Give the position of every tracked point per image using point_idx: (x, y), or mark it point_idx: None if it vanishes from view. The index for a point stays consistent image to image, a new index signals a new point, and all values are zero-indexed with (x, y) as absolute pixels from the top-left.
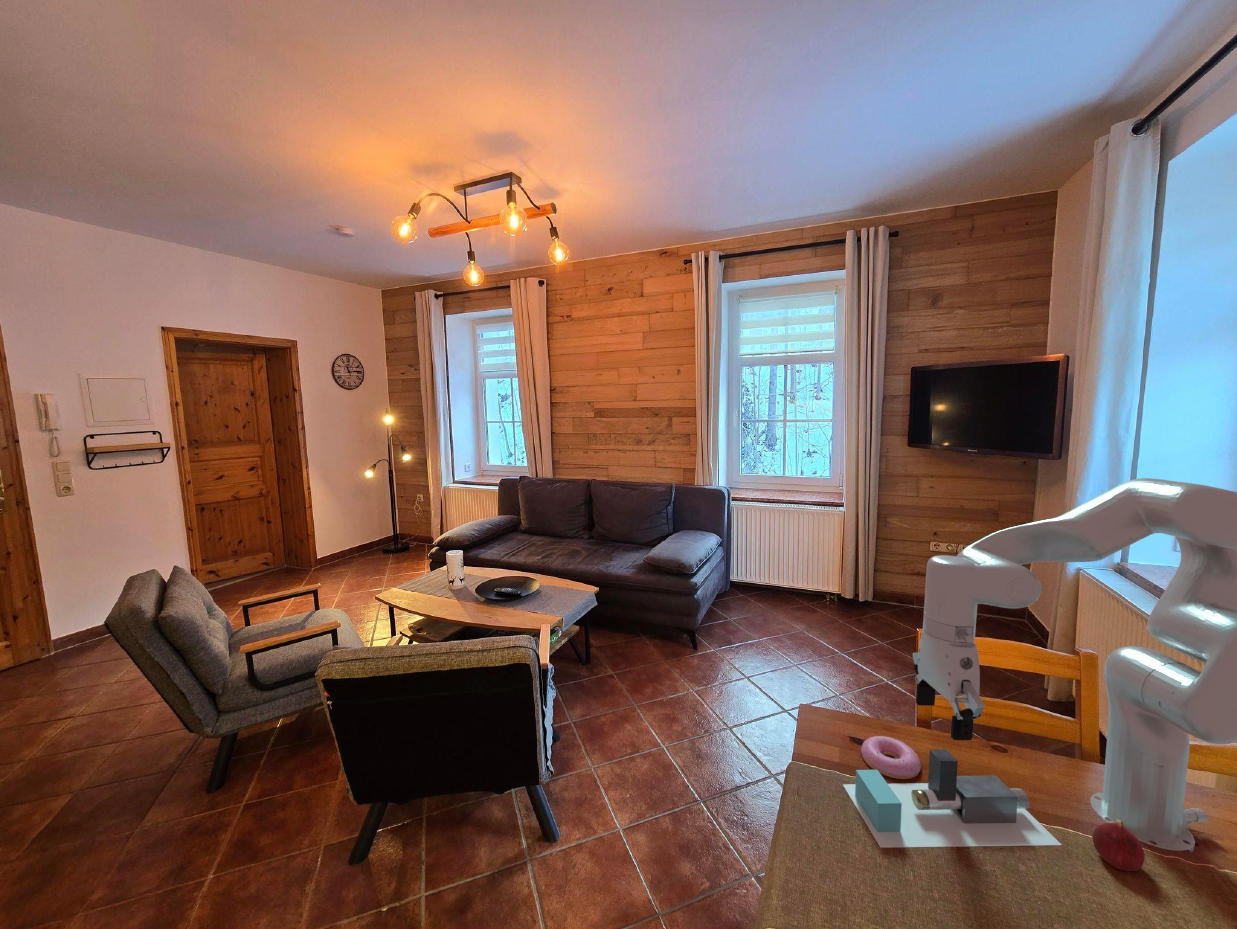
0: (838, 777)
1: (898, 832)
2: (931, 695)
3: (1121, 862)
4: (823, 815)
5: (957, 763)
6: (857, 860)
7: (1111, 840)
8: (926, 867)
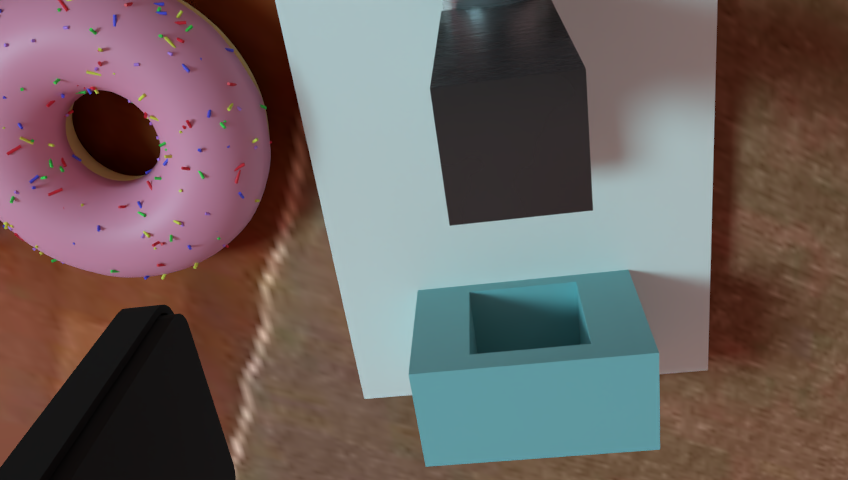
0: (288, 374)
1: (633, 279)
2: (142, 456)
3: None
4: (517, 476)
5: (580, 60)
6: (723, 430)
7: None
8: (770, 212)
